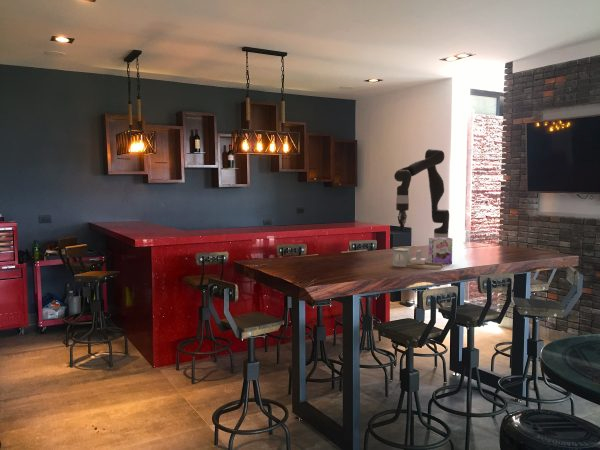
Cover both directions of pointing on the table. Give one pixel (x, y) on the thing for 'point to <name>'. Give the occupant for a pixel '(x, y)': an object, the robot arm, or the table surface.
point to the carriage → (418, 258)
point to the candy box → (440, 250)
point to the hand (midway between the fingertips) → (402, 230)
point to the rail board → (425, 265)
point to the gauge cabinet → (401, 257)
